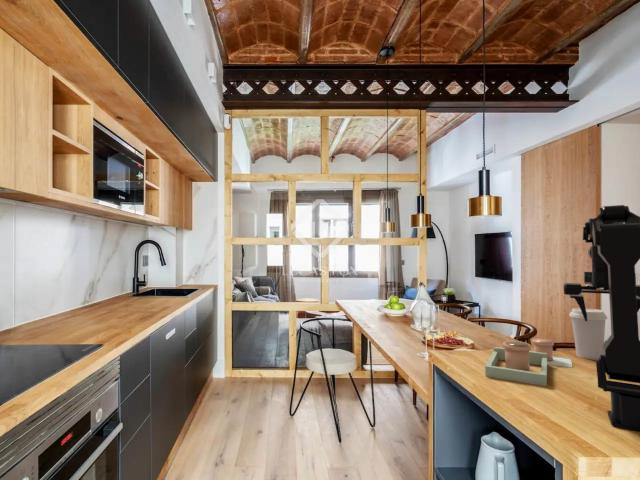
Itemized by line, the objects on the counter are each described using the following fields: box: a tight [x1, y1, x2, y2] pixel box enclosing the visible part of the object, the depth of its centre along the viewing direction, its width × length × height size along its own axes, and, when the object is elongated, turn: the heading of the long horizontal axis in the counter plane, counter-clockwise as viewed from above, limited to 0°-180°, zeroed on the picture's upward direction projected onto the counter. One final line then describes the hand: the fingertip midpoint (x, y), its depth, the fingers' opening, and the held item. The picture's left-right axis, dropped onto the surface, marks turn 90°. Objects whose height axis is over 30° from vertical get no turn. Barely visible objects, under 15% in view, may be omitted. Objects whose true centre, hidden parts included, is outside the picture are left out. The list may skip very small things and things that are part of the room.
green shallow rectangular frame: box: [484, 346, 548, 387], centre depth 99 cm, size 18×14×4 cm
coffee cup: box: [569, 307, 608, 361], centre depth 110 cm, size 10×10×15 cm
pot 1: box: [502, 340, 532, 372], centre depth 99 cm, size 7×7×8 cm
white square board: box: [547, 355, 573, 369], centre depth 108 cm, size 10×12×1 cm
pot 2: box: [532, 337, 555, 361], centre depth 109 cm, size 6×6×6 cm
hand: (607, 322), depth 93 cm, fingers open, 9 cm apart
